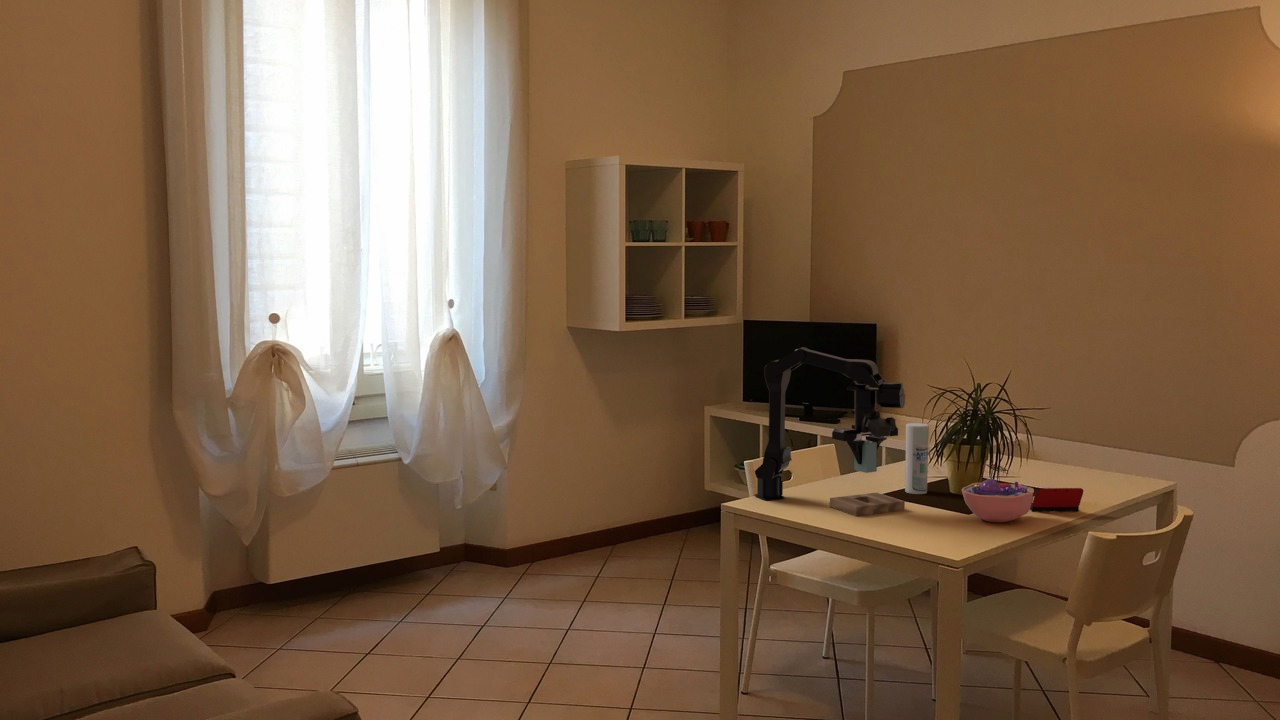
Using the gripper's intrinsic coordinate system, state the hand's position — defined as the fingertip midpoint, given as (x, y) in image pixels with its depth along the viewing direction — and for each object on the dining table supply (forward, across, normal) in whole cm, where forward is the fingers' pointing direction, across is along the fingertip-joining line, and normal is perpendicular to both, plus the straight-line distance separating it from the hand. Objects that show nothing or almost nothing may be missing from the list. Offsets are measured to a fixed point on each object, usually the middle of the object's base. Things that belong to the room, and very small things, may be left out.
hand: (865, 463), depth 277 cm
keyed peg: (+2, 0, 0) cm, 2 cm away
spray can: (+13, +27, +9) cm, 31 cm away
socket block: (+12, 0, 0) cm, 12 cm away
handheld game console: (+14, +43, -26) cm, 52 cm away
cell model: (+13, +22, -26) cm, 37 cm away
